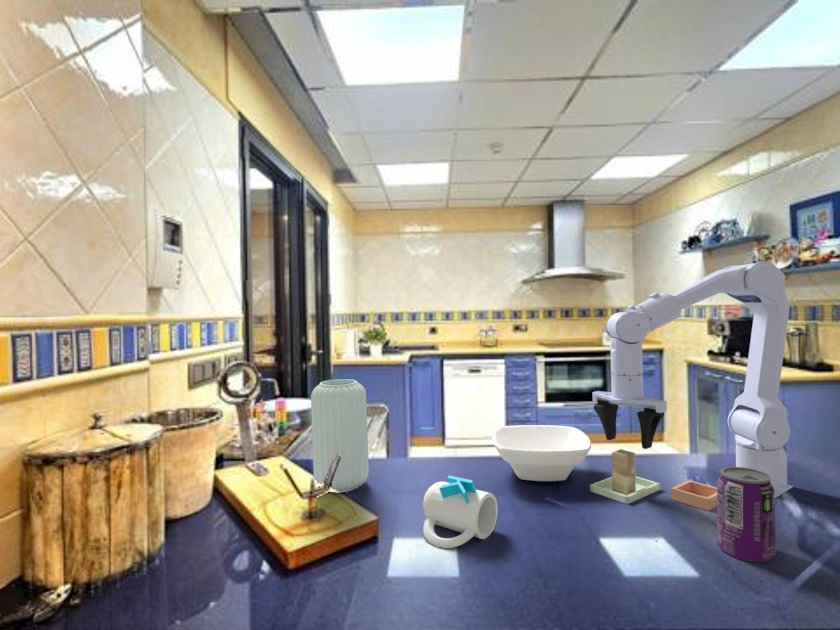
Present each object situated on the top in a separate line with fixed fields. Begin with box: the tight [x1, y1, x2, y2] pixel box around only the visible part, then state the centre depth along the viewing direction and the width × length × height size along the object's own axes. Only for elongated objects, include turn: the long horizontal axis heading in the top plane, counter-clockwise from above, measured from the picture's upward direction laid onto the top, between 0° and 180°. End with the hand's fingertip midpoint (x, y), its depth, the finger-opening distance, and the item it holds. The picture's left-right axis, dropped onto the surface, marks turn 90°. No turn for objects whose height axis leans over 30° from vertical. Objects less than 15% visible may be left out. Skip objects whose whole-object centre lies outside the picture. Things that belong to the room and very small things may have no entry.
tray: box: [589, 475, 661, 505], centre depth 96 cm, size 11×8×2 cm
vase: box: [310, 378, 370, 491], centre depth 104 cm, size 12×12×22 cm
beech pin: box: [611, 448, 636, 495], centre depth 96 cm, size 3×3×8 cm
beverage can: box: [716, 466, 776, 563], centre depth 72 cm, size 7×7×12 cm
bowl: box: [491, 424, 592, 482], centre depth 107 cm, size 21×21×9 cm
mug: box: [422, 474, 499, 549], centre depth 82 cm, size 12×9×12 cm
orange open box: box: [670, 479, 717, 512], centre depth 91 cm, size 7×7×3 cm
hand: (628, 443), depth 96 cm, fingers open, 7 cm apart
